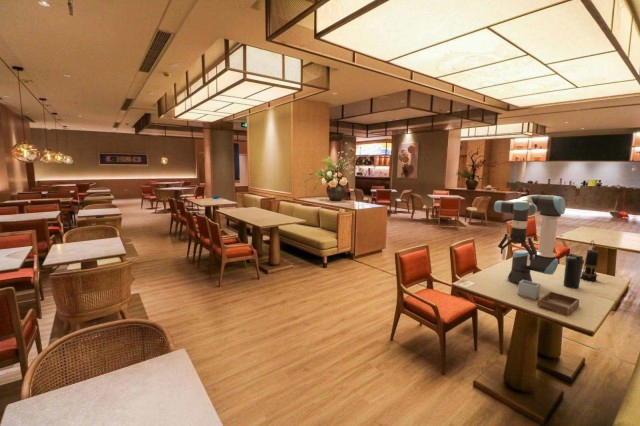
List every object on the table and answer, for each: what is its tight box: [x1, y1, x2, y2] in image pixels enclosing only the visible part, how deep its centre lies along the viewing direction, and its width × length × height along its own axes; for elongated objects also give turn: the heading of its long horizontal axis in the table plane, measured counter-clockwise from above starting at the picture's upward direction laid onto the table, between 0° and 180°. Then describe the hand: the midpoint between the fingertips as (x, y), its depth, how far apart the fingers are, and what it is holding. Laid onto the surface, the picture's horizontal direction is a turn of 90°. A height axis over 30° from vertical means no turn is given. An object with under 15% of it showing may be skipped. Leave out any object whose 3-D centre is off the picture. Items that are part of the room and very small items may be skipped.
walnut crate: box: [537, 291, 580, 317], centre depth 190 cm, size 20×15×4 cm
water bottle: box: [563, 253, 585, 289], centre depth 219 cm, size 10×10×23 cm
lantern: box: [580, 240, 600, 283], centre depth 231 cm, size 9×9×30 cm
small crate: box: [517, 280, 541, 301], centre depth 204 cm, size 7×10×9 cm
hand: (515, 262), depth 186 cm, fingers open, 13 cm apart
